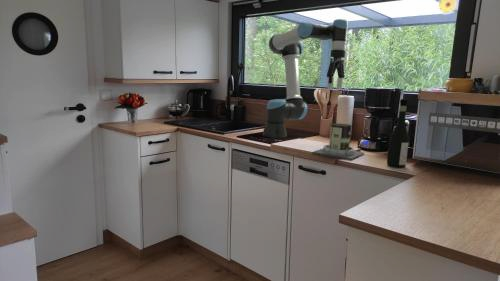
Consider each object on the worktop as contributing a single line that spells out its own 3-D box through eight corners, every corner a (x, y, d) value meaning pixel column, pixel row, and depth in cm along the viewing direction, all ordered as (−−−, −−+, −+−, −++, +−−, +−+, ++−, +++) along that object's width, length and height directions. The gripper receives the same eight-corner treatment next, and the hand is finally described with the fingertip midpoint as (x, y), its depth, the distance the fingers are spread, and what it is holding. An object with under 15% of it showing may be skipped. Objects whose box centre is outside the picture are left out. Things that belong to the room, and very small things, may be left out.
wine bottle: (407, 166, 165) (415, 99, 160) (403, 169, 158) (412, 100, 153) (388, 163, 169) (396, 98, 164) (384, 165, 163) (392, 98, 158)
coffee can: (348, 151, 188) (351, 124, 186) (349, 155, 178) (352, 126, 176) (328, 149, 190) (330, 122, 188) (328, 153, 180) (330, 124, 178)
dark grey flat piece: (327, 148, 198) (327, 142, 197) (364, 154, 187) (364, 147, 186) (312, 153, 181) (312, 147, 181) (351, 160, 170) (352, 153, 170)
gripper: (336, 47, 182) (333, 90, 186) (352, 51, 203) (348, 90, 206) (322, 47, 186) (319, 89, 190) (339, 51, 207) (336, 89, 210)
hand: (334, 89), depth 198 cm, fingers open, 13 cm apart
